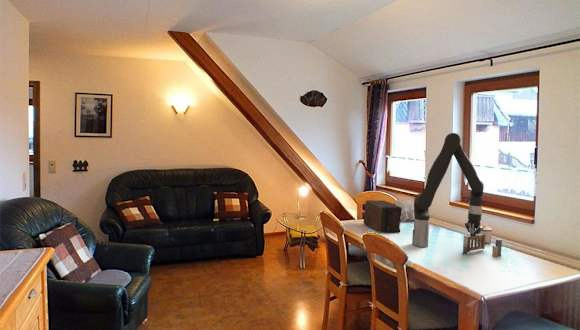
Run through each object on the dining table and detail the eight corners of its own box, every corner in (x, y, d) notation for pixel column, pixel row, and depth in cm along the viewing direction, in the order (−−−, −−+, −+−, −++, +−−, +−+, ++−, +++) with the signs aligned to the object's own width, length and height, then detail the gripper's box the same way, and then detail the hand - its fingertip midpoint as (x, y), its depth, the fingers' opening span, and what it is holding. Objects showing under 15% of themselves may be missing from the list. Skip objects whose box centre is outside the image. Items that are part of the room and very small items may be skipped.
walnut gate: (468, 252, 249) (469, 237, 249) (465, 251, 251) (466, 236, 250) (484, 248, 258) (485, 234, 257) (481, 248, 259) (482, 234, 258)
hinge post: (463, 254, 248) (464, 236, 247) (462, 253, 250) (463, 235, 249) (467, 254, 248) (468, 236, 247) (466, 253, 250) (467, 235, 249)
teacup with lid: (494, 243, 275) (495, 226, 274) (481, 243, 274) (482, 226, 273) (483, 238, 287) (484, 222, 286) (471, 238, 285) (472, 222, 284)
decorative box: (382, 224, 327) (359, 223, 321) (385, 199, 326) (363, 197, 320) (403, 235, 298) (378, 233, 292) (407, 207, 297) (383, 205, 291)
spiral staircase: (391, 224, 341) (419, 222, 346) (400, 219, 325) (429, 217, 330) (387, 203, 347) (415, 201, 352) (395, 197, 331) (424, 195, 336)
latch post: (493, 256, 246) (494, 240, 245) (490, 254, 250) (491, 238, 249) (502, 256, 245) (503, 240, 245) (499, 254, 250) (500, 239, 249)
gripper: (462, 210, 260) (459, 237, 262) (479, 215, 248) (476, 243, 250) (471, 209, 263) (468, 236, 265) (488, 214, 251) (485, 242, 253)
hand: (472, 239), depth 258 cm, fingers closed
